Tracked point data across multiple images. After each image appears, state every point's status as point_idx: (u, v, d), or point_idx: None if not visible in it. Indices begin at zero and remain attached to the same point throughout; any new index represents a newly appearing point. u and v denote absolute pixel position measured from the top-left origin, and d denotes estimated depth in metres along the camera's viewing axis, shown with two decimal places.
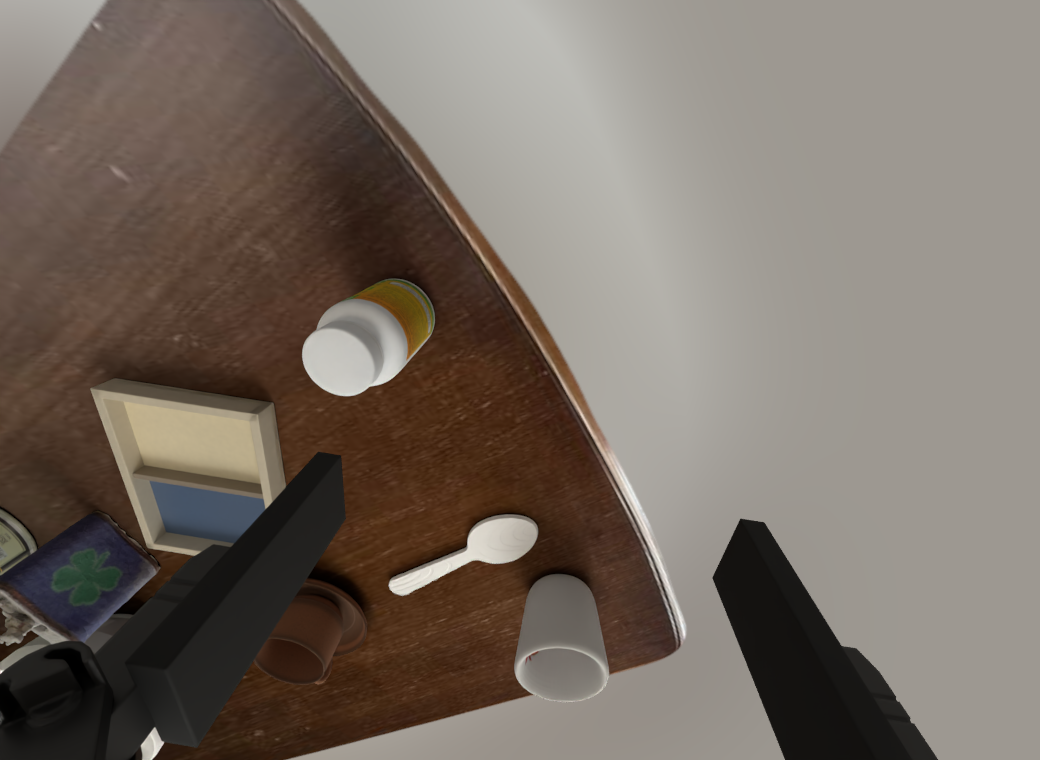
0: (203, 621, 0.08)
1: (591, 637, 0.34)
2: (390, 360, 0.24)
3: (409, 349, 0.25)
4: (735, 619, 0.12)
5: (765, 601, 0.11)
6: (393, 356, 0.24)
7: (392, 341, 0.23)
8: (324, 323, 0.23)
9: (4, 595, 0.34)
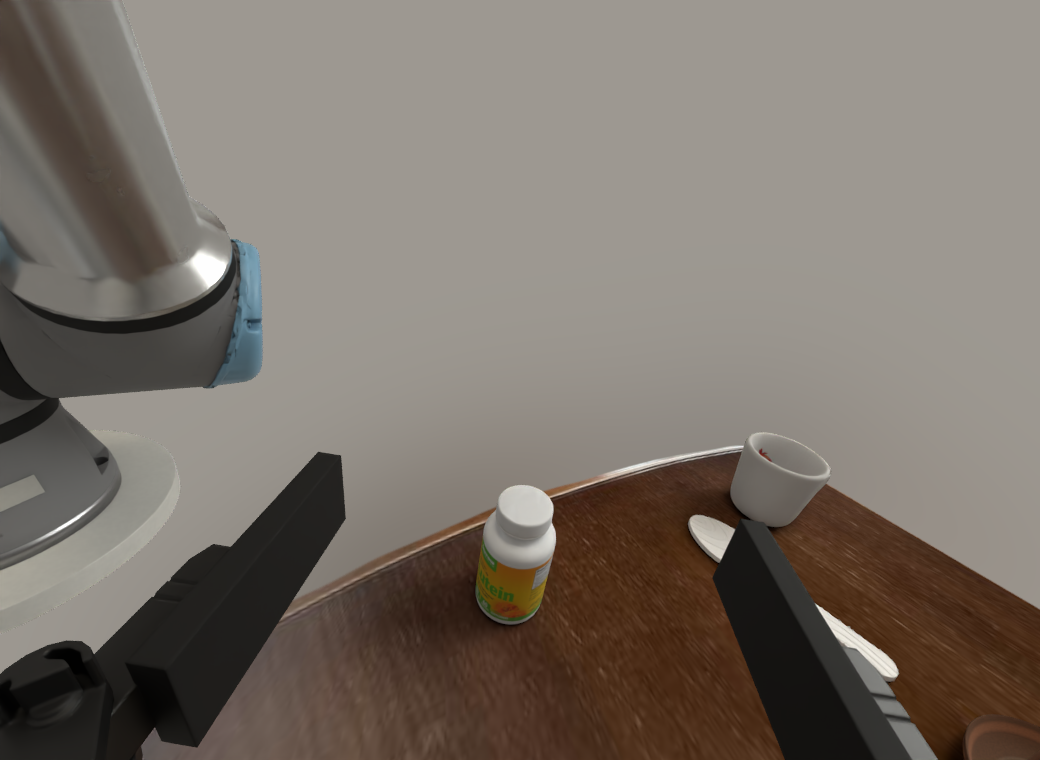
0: (203, 621, 0.08)
1: None
2: None
3: None
4: (735, 619, 0.12)
5: (765, 602, 0.11)
6: None
7: None
8: (500, 542, 0.28)
9: None
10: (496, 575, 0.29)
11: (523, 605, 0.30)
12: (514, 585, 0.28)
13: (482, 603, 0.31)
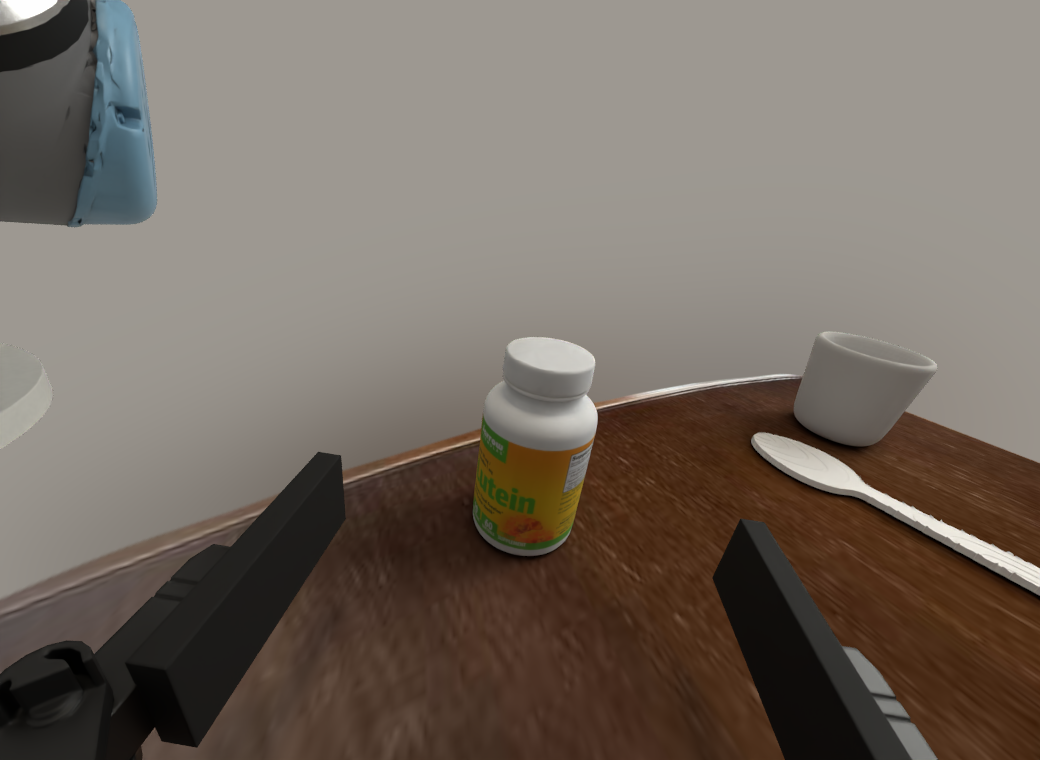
0: (203, 621, 0.08)
1: (812, 348, 0.36)
2: None
3: None
4: (735, 619, 0.12)
5: (765, 602, 0.11)
6: None
7: None
8: (511, 410, 0.17)
9: None
10: (506, 468, 0.18)
11: (549, 520, 0.19)
12: (536, 483, 0.18)
13: (484, 525, 0.20)
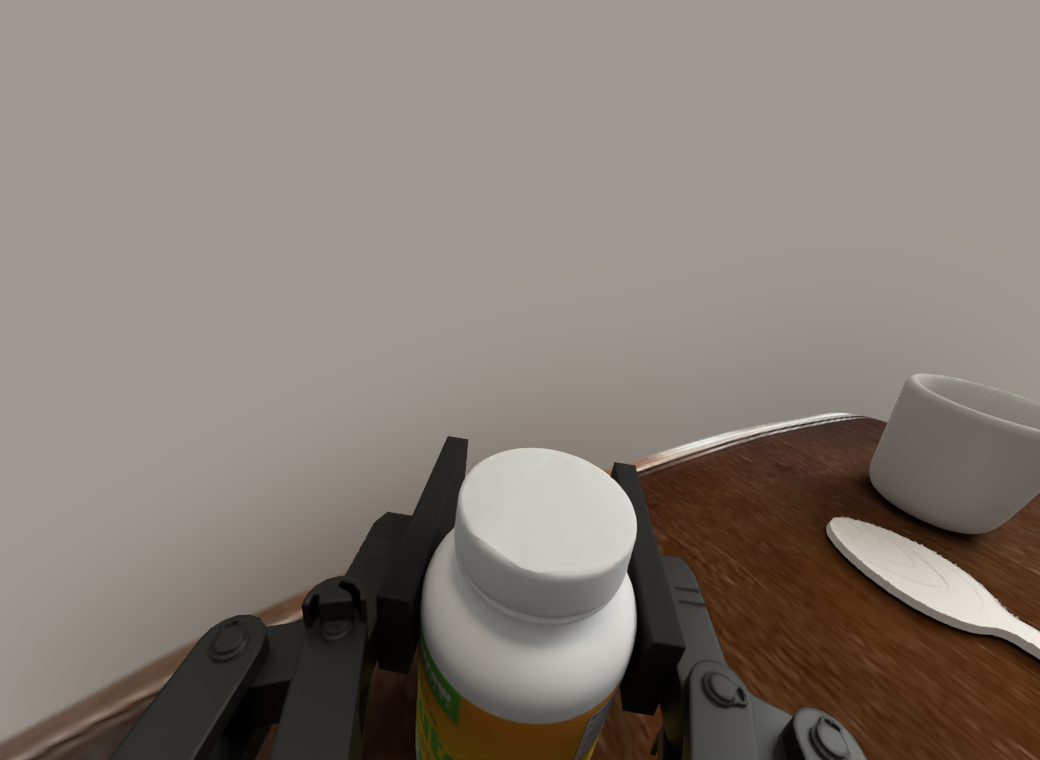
0: (420, 567, 0.10)
1: (900, 398, 0.27)
2: None
3: None
4: None
5: None
6: None
7: None
8: (467, 629, 0.08)
9: None
10: (459, 732, 0.09)
11: None
12: None
13: None
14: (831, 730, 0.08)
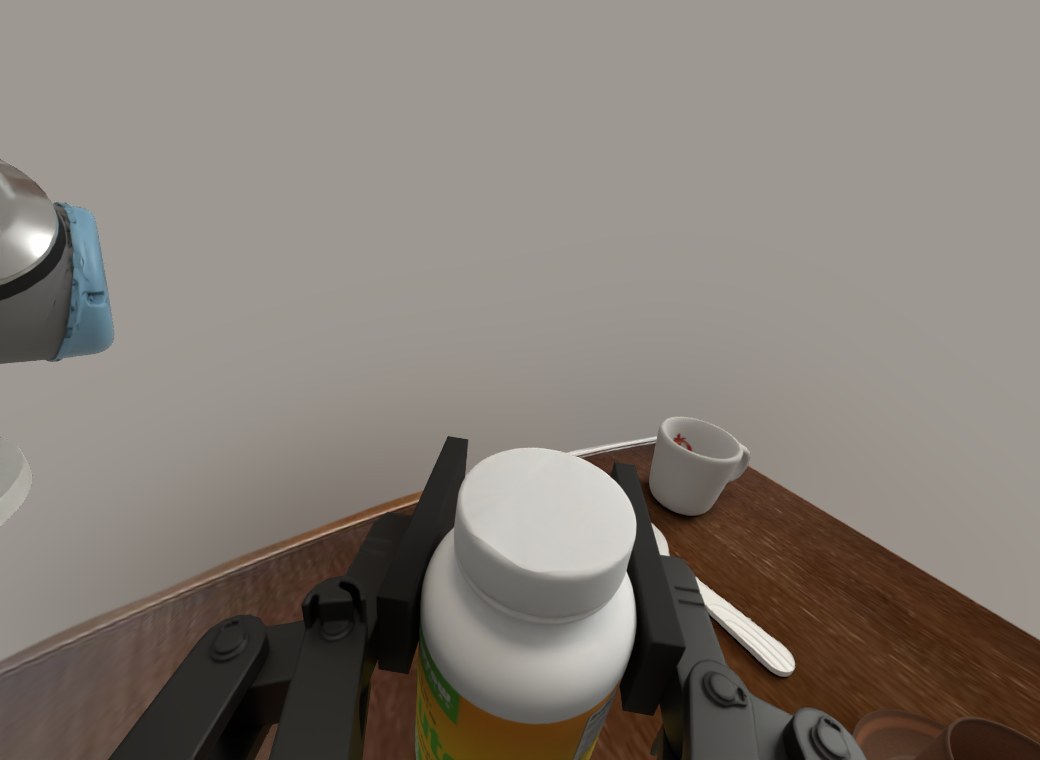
0: (420, 567, 0.10)
1: None
2: None
3: None
4: None
5: None
6: None
7: None
8: (467, 629, 0.08)
9: None
10: (458, 732, 0.09)
11: None
12: None
13: None
14: (831, 730, 0.08)
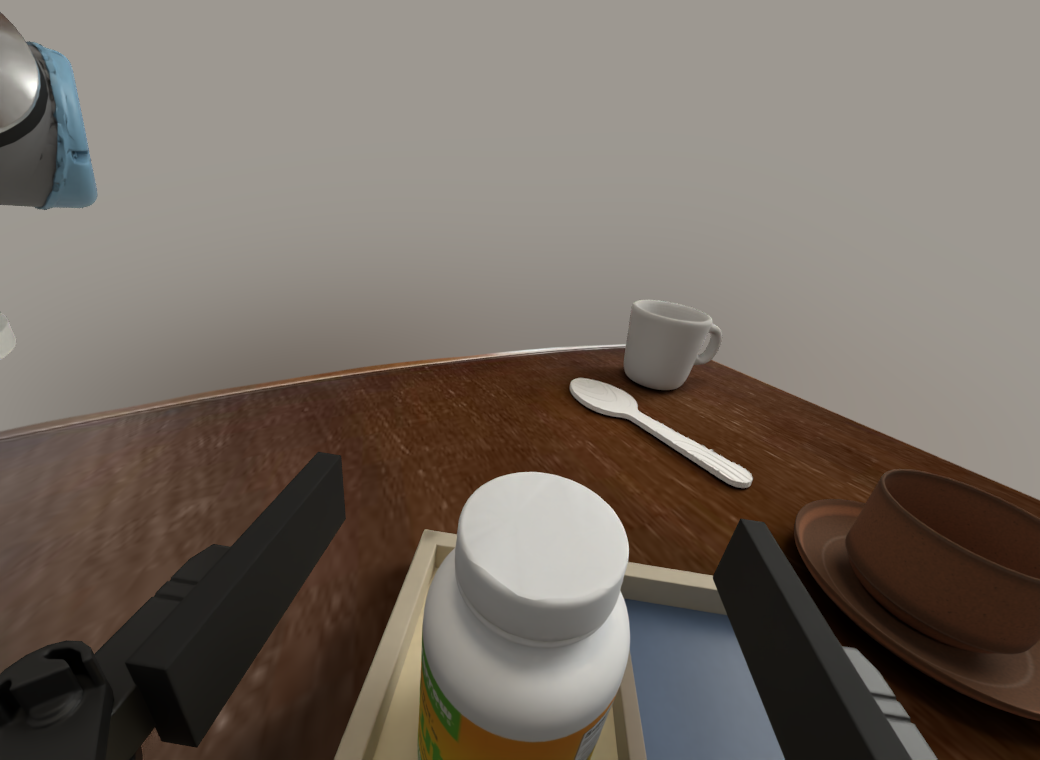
0: (203, 621, 0.08)
1: None
2: None
3: None
4: (735, 619, 0.12)
5: (765, 602, 0.11)
6: None
7: None
8: (467, 650, 0.09)
9: None
10: (459, 748, 0.09)
11: None
12: None
13: None
14: None
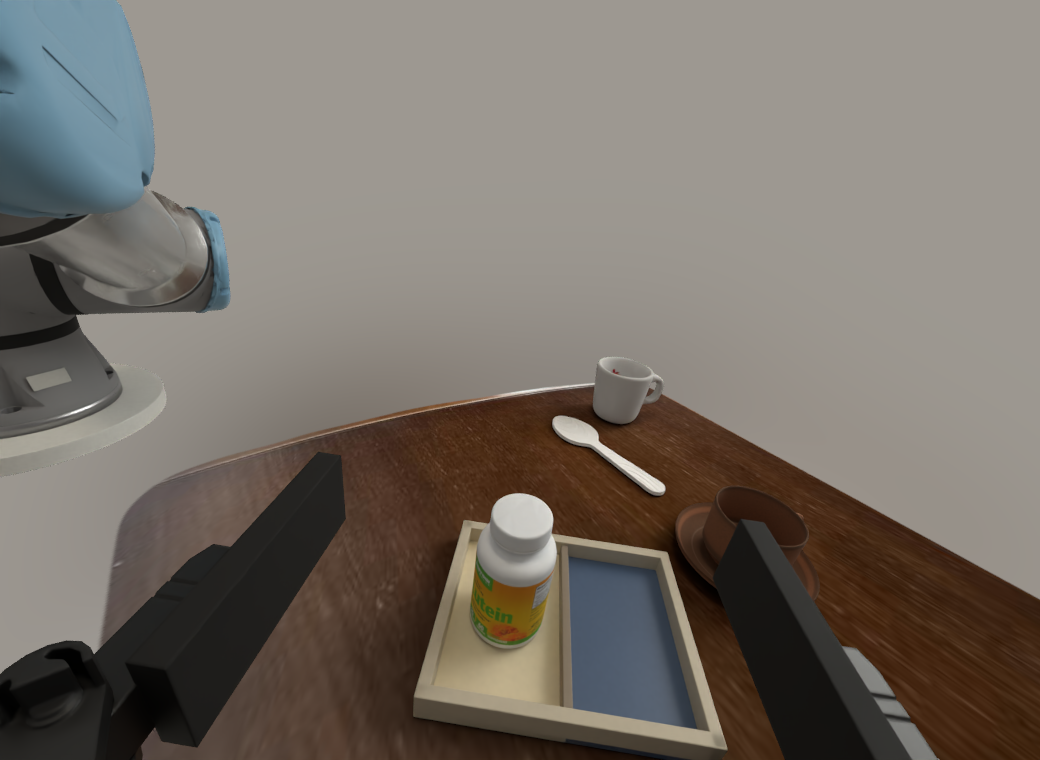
0: (204, 621, 0.08)
1: None
2: None
3: None
4: (735, 619, 0.12)
5: (765, 602, 0.11)
6: None
7: None
8: (495, 557, 0.25)
9: None
10: (492, 594, 0.26)
11: (522, 626, 0.27)
12: (512, 605, 0.26)
13: (478, 626, 0.28)
14: None
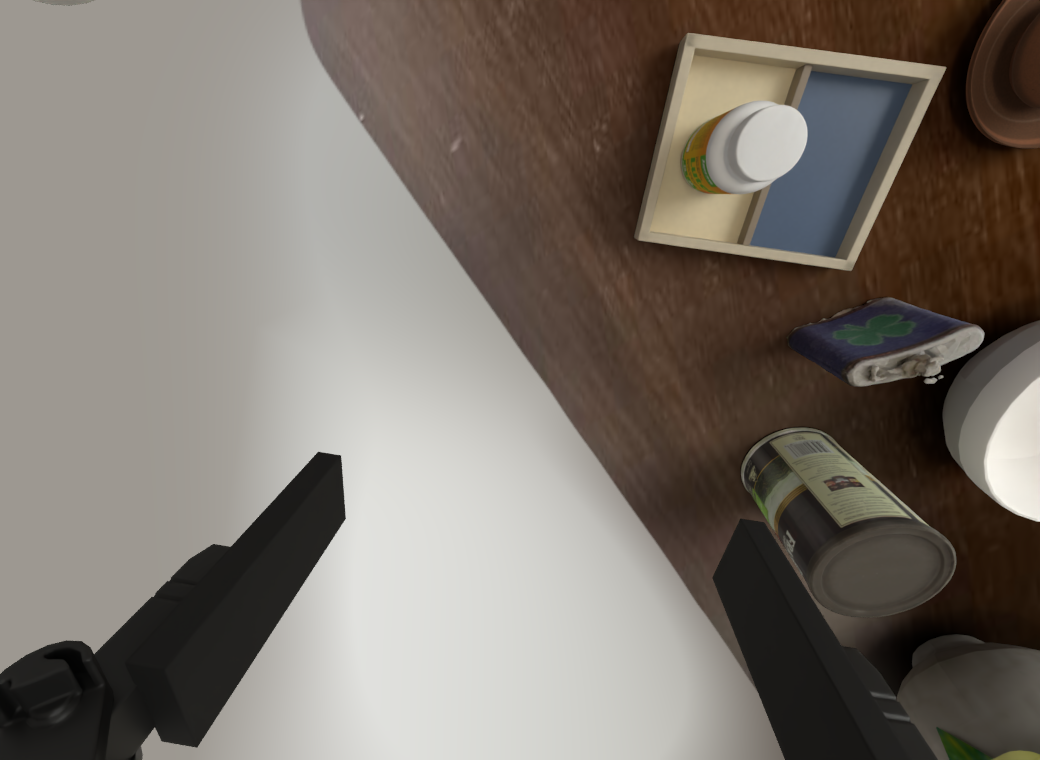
0: (203, 621, 0.08)
1: None
2: None
3: None
4: (735, 619, 0.12)
5: (765, 602, 0.11)
6: None
7: (754, 106, 0.25)
8: (725, 175, 0.27)
9: (865, 366, 0.31)
10: (711, 187, 0.29)
11: None
12: None
13: (688, 180, 0.33)
14: None
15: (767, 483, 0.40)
